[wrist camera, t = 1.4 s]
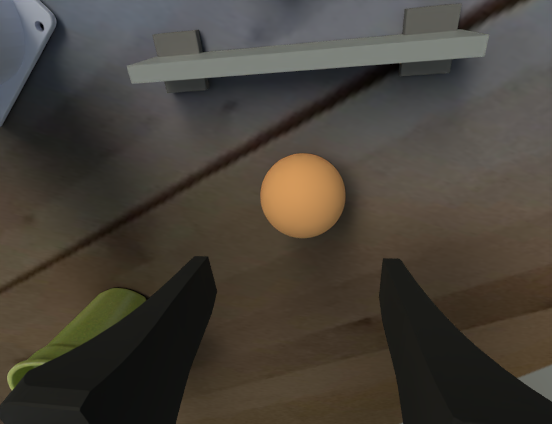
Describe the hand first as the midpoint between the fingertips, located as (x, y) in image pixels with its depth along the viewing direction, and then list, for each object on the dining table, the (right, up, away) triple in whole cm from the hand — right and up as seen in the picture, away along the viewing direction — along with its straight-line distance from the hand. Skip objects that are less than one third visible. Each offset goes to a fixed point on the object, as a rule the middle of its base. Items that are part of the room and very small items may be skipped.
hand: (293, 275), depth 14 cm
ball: (+1, +4, +6) cm, 7 cm away
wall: (0, +11, +4) cm, 12 cm away
